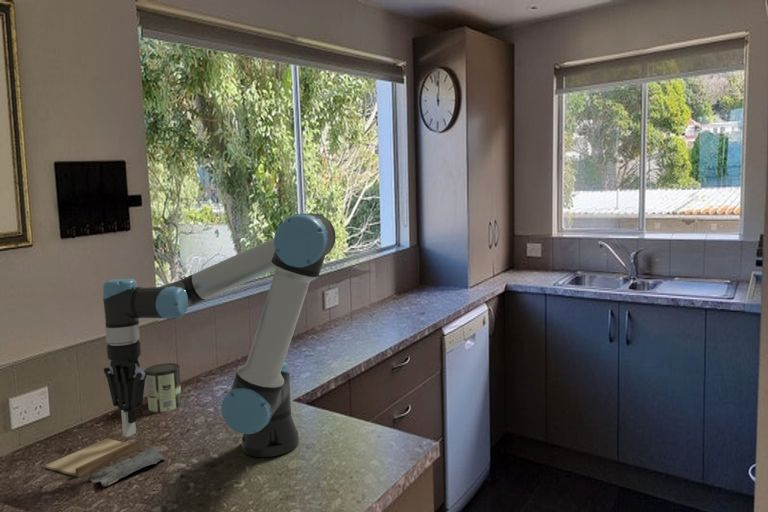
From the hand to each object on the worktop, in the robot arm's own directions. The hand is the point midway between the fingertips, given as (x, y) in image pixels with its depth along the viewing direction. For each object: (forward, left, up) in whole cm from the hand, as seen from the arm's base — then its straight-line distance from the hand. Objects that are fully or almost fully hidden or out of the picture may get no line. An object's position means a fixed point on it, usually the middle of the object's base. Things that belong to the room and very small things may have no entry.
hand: (129, 434), depth 143 cm
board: (+15, 0, -9) cm, 17 cm away
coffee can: (+24, -33, -9) cm, 42 cm away
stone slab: (+5, 0, -8) cm, 10 cm away
